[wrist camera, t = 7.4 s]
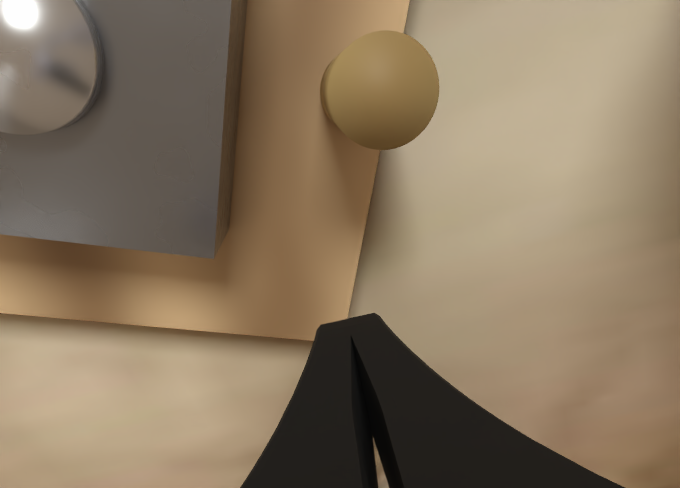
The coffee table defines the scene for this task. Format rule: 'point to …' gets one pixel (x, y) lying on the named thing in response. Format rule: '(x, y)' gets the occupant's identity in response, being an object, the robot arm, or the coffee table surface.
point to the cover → (120, 121)
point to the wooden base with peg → (264, 186)
